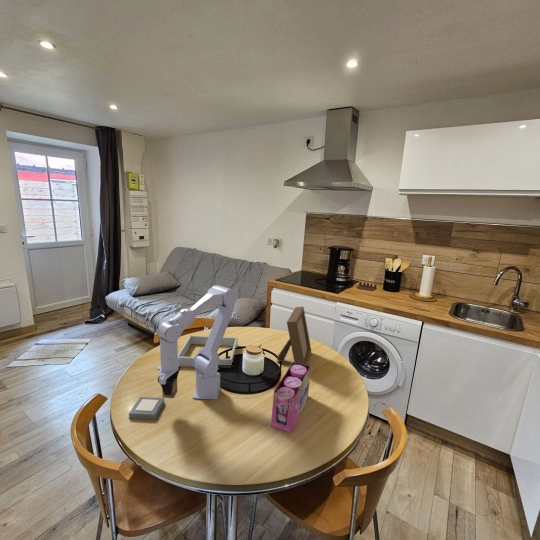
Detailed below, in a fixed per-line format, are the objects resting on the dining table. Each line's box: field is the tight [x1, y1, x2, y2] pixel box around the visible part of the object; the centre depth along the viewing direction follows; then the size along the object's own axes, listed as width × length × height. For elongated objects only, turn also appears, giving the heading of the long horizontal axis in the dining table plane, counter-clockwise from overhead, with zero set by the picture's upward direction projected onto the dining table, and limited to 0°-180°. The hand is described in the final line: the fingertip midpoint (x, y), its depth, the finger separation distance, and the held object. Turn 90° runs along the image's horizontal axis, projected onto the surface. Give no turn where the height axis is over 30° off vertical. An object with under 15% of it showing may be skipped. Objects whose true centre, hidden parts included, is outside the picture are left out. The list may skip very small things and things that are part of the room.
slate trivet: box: [128, 396, 165, 420], centre depth 106 cm, size 9×9×2 cm
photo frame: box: [276, 306, 312, 366], centre depth 145 cm, size 15×22×25 cm
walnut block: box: [161, 378, 178, 399], centre depth 104 cm, size 4×4×5 cm
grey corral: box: [178, 334, 238, 368], centre depth 147 cm, size 26×24×4 cm
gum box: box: [270, 361, 312, 434], centre depth 108 cm, size 24×8×14 cm, turn 158°
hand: (170, 390), depth 105 cm, fingers closed on walnut block, 4 cm apart
